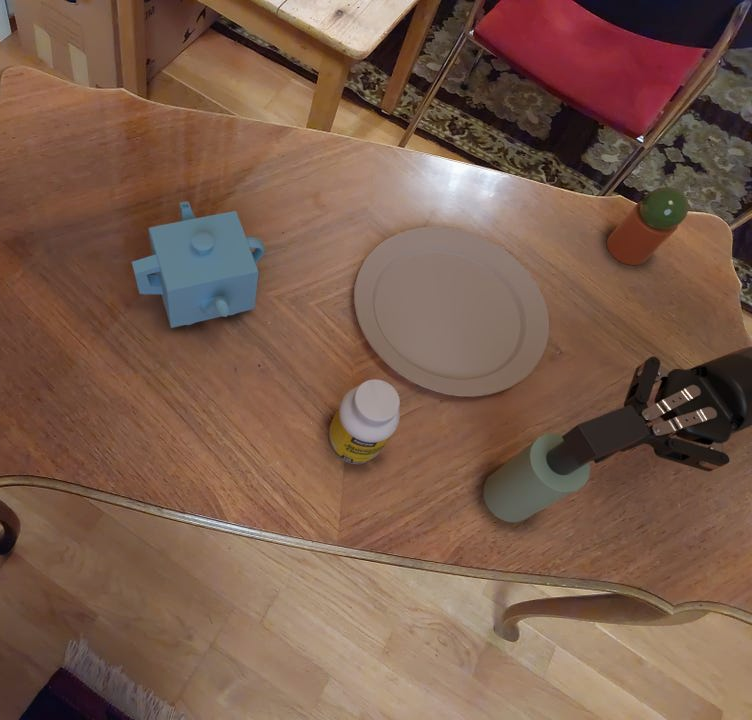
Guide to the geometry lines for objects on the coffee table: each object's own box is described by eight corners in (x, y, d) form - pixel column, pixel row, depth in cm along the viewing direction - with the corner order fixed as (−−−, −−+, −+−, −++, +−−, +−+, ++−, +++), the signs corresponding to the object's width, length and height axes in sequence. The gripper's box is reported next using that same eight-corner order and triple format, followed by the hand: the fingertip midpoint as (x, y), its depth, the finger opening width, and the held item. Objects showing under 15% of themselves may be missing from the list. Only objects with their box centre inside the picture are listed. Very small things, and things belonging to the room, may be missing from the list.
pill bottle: (323, 460, 75) (342, 422, 65) (330, 409, 78) (349, 365, 68) (379, 470, 75) (406, 435, 65) (383, 419, 78) (410, 377, 68)
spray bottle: (534, 457, 78) (630, 386, 60) (561, 504, 75) (670, 444, 57) (473, 481, 76) (554, 415, 58) (499, 530, 73) (592, 477, 55)
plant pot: (643, 234, 95) (694, 179, 85) (651, 267, 92) (705, 215, 82) (603, 229, 95) (649, 174, 85) (610, 262, 92) (658, 210, 82)
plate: (382, 417, 78) (386, 411, 76) (330, 246, 89) (332, 237, 88) (573, 385, 83) (581, 378, 81) (501, 225, 94) (506, 216, 92)
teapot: (241, 232, 89) (245, 173, 79) (282, 344, 82) (293, 294, 72) (126, 255, 86) (115, 197, 76) (158, 374, 78) (150, 327, 68)
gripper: (728, 317, 68) (592, 366, 64) (817, 430, 63) (676, 491, 58) (682, 351, 75) (556, 397, 70) (759, 455, 69) (628, 512, 65)
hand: (611, 440), depth 64 cm, fingers closed
